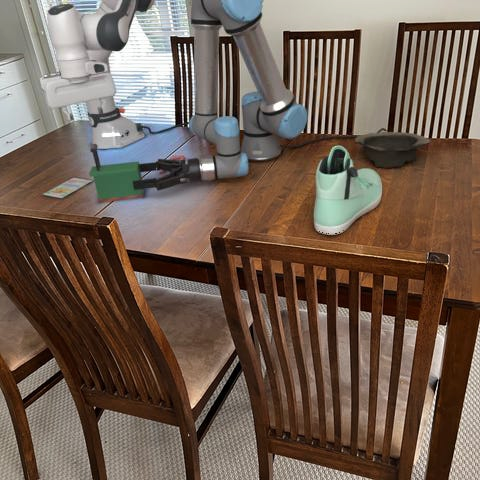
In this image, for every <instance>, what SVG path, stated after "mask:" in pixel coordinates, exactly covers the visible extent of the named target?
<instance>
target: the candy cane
mask: <svg viewBox="0 0 480 480" xmlns="http://www.w3.org/2000/svg"><path fill="white" fill-rule="evenodd" d="M169 160H185V161H186V157H185V155H182V154H175V155H172V156H170V157H169ZM164 172H165V171H164V170H159V171H158V173H159V174H162V173H164Z"/></svg>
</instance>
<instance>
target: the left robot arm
mask: <svg viewBox="0 0 480 480" xmlns="http://www.w3.org/2000/svg"><path fill="white" fill-rule="evenodd" d="M155 3H156V0H101V2H100V4H99V5H98V8H97V9H96V12H95V13H90V14H89V13H87V14H85V13H82V12H80V11H78V10H77V8H76V6H75V5H74V4H71V3H61V4H57V5H54V6H52V7H50V8H49V9H48V10H47V13H46V19H47V28H48V33H49V37H50V41H51V44H52V46H53V48H54V51H55V60H56V64H57V69H58V71H55V72H51V73H45V74H43V76H41V77H40V79H39V85H40V88H41V90H42V91H43V96H44V102H45V105H46V106H47V107H48V108H49V109H52V110H53V109H59V108H60V111H62V112H63V113H64V114H65V116H66V119H67V121H68V122H73V121H75V118H74V115H73V113H72V112H70V113H69V112H68V111H67V110H68V106H73V105H77V104H82V103H85V104H86V109H87V118H88V122H89V125H90V127H91V128H90V129H91V137H92V138H91V140H92V141H91V146H92V145H93V144H97V146H98V147H97V149H98V150H107V149H121V148H122V149H123V148H124V147H127V146H128V145H131V144H132V143H135V142H137V141H139V140H141V139H143V138H145V137H146V135H145V133H144V129H147V130H148V132H149V134H151V135H157V134H161V133H164V132H169V131H171V130H173V129H175V128H179V127H183V126H187V125H189V122H190V121H187V122H184V123H178V124H175V125H173V126H170V127H168V128H163V129H161V130H158V131H152V129H151V128H150V127H149V126H148V125H142V124H141V123H140V122H139V123H135V122H134V121H133V120H131V119H129V118H127V117H125V116H123V115H122V114H125V112H126V109H125V108H124V107H123V108H122V107H117V106H116V103H115V97H114V96H115V95H116V93H117V88H116V84H115V80H114V78H113V75H112V74H111V67H110V66H111V65H110V60H109V59H110V57H111V55H112V53H113V52H121V51H122V50H123V49H124V48H125V47H126V46H127V44H128V42H129V39H130V29H131V26H132V23H133V21H134V18H135V15H136V13H137V12H138V13H146V12H148V11H149V10H151V8H153V6H154V5H155Z"/></svg>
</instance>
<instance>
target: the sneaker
mask: <svg viewBox="0 0 480 480" xmlns="http://www.w3.org/2000/svg"><path fill="white" fill-rule="evenodd" d="M317 165H318V166H317V168H316V172H315V201H314V207H313V225H314V229H315V231H316V232H318V233H320V234H323V235H326V236H327V235H328V236H336V235H339V234H342V233H344V232H345V231H347V230H348V229H349V228H350V227H351V226H352V225H353V224H354V222H356V221H357V220H358V219H359V218H360V217H362V216H363V215H365V214H367V213H370V212H372V210H374V209H375V208H377V207H378V205H380V203H381V200H382V196H383V184H382V183H383V182H382V179H381V176H380V175H379V173H378V172H377V171H376V170H374V169H372V168H367V167H365V168H358V169H357V168H355V167H354V161H353V159H352V158H351V156H350V153H349V152H348V150H347V148H345V147H344V146H342V145H334V146H333V147H331V149H330V151H329V154H327V155H326V156H325V157H324V158H322V159H321V160H320V161H319V163H318V164H317ZM343 230H344V231H343ZM319 231H320V232H319ZM322 232H323V233H322ZM339 232H340V233H339ZM326 233H327V234H326ZM328 233H329V234H328ZM335 233H337V234H335Z"/></svg>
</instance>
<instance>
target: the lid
mask: <svg viewBox="0 0 480 480" xmlns="http://www.w3.org/2000/svg"><path fill="white" fill-rule="evenodd" d="M97 147H98V146H97V144H93V145H92V144H91V147H90V150H89V151H90V152H91V153H92V156H93V159H94V164H95V165H94V166H91V169H90V172H89V177H93V176H100V175H109V174H118V173H127V172H136V171H138V168H139V164H140V161H139V160H138V161H130V162H119V163H110V164H103V165H101V162H100V157H99V153H98V150H97Z"/></svg>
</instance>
